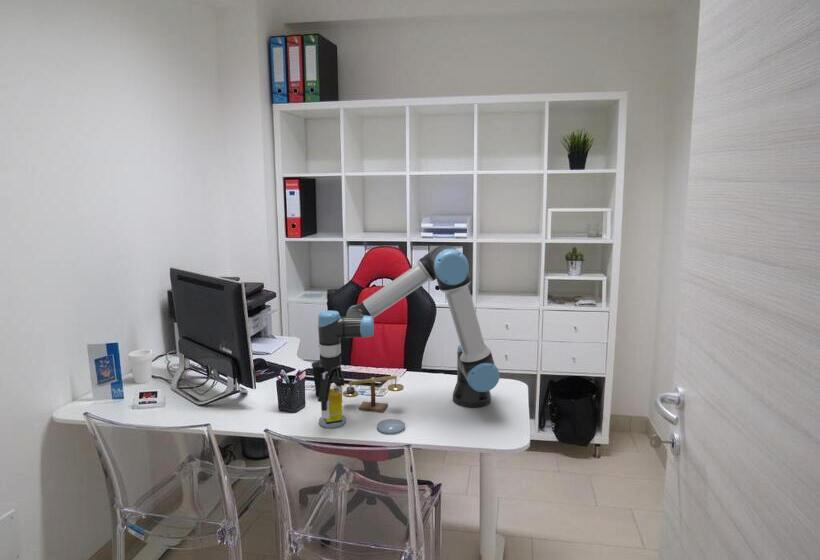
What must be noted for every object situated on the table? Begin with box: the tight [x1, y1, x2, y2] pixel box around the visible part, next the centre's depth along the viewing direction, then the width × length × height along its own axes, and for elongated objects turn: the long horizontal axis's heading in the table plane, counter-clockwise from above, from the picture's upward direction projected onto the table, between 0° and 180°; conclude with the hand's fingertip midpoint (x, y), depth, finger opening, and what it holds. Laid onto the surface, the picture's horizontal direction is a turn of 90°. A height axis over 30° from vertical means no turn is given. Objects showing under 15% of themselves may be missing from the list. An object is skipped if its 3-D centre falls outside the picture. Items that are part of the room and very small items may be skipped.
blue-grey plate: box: [376, 418, 406, 435], centre depth 206 cm, size 10×10×1 cm
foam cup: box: [128, 349, 154, 385], centre depth 252 cm, size 10×9×13 cm
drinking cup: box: [311, 353, 325, 398], centre depth 234 cm, size 8×8×20 cm
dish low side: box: [318, 414, 347, 430], centre depth 211 cm, size 10×10×1 cm
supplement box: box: [324, 387, 343, 424], centre depth 209 cm, size 6×6×11 cm
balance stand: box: [357, 382, 389, 414], centre depth 222 cm, size 10×6×11 cm, turn 77°
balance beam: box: [342, 375, 405, 398], centre depth 221 cm, size 24×6×9 cm, turn 77°
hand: (332, 410), depth 210 cm, fingers open, 13 cm apart
